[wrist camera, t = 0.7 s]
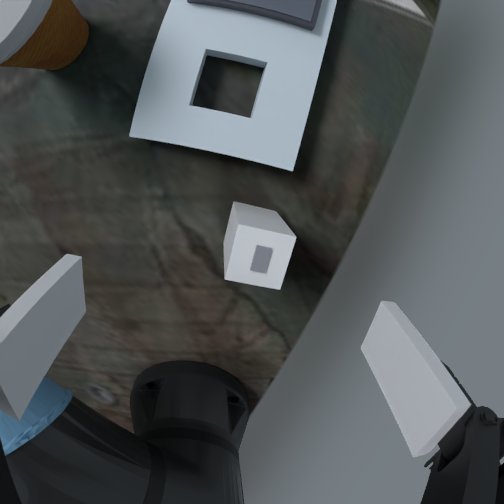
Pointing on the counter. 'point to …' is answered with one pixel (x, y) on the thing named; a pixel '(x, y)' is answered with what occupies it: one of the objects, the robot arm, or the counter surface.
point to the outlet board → (241, 50)
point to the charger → (257, 246)
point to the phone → (274, 9)
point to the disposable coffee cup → (41, 33)
